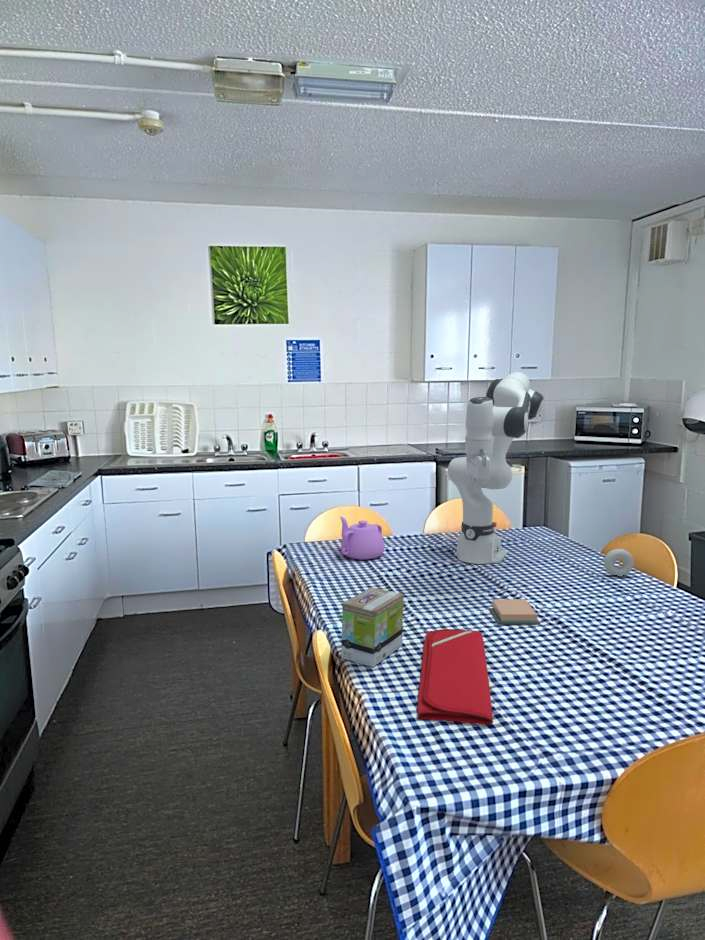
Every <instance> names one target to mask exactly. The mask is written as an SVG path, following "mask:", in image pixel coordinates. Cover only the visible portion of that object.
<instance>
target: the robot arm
mask: <svg viewBox="0 0 705 940" xmlns="http://www.w3.org/2000/svg"><path fill="white" fill-rule="evenodd" d="M530 387H531V381H530V378H529V377H528V376H527V375H526V374H525V373H523V372H520V371H515V372H512V373H509V374H507V375H506V376H504V377H503V378H496V379H494V380H492V381H491V382H490V383H489V385H488V386H487V388H486V391H485V396H477V397H472V398H470V399H469V400H468V402H467V406H466V414H465V428H466V434H465V439H464V440H465V441H464V443H465V444H464V454H465V455H466V456H462V457H461V456H460V457H455V458H453V459H451V461H450V462H449V464H448V466H447V476H448V478H449V480H450V481H451V482H452V483H453V485H455V487H456V489H457V490H458V492H459V495H460V499H461V503H462V521H461V525H460V529H461V531H460V532H461V533H459V534H458V535H457V536H458V537H457V547H456V551H454V552H453V555H454V556H455V557H457V560H459V561H461V562H463V563H464V562H465V563H468V564H473V565H474V564H475V565H486V564H487V565H488V564H500V563H501V561H503V560H504V558H505V557H506V556H507V555H508V551H507V550H505V549H503V548H502V539H501V538H500V537H499V536H498V535H497V534H496V533H495V528H496V527H497V522H496V521H493V517H494V516H493V515H494V514H493V512H494V511H493V509H494V508H493V507H494V506H493V502H492V501H491V499H489V498H488V496H486V495H485V494H484V492H483V489H488V490H504V489H506V488H507V487H508V486H509V485H510V484H511V482H512V479H513V471H512V468H511V466H510V465H509V464H508V462H507V460H506V457H507V453H508V450H509V448H510V446H511V445H512V443H513V440H514V438H515V439H519V438H521V437H523V436H524V435H525V434H526V433H527V430H528V428H529V420H532V419H535V418H536V417H537V416H538V415H539V414H541V412H542V410H543V408H544V401H545V400H544V399H545V398H544V395H543V394H541V393H540V392H539V391H537V390H533V389H531V388H530Z"/></svg>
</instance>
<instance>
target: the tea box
mask: <svg viewBox="0 0 705 940" xmlns="http://www.w3.org/2000/svg"><path fill="white" fill-rule="evenodd" d="M341 611H342V613H341V615H342V617H341V621H342V622H341V655H340V656H341V658H342V659H344V660H347V661H350V662H354V663H357V664H360V665H364V666H367V667H371V668H374V667H375V666H377V665H378V664H380V663H381V662H382V661H383V660H385V659H386V658H388V657H389V656H390V655H392V654H393V653H394V652H395V651H397V650H399V648H401V647H402V646H403V631H404V630H403V629H404V628H403V627H404V620H403V619H404V593H400V592H395V591H390V590H387V589H381V588H377V587H371V588H368V589H366V590H364V591H363V592H361V593H359V594H358V595H356V596H354V597H352V598H350V599H348V600H347V601H344V602H342V610H341Z"/></svg>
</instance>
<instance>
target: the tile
mask: <svg viewBox="0 0 705 940" xmlns="http://www.w3.org/2000/svg"><path fill="white" fill-rule="evenodd" d="M491 603H492V604H491V606H492V607H491V608H493V609H494V611H495V612H496V614H497V616H498V617H499V619H500V621H501V623H509V622H537V619H538V617H537V616H538V613H537V612H536V611H535V610H534V609H533V607H532V605H531V604H529V602H528V601H527V599H525V598H522V599H518V598H517V599H515V598H513V599H512V598H511V599H508V598H507V599H505V598H503V599H501V598H500V599H499V598H498V599H497V598H495V599H492V600H491Z"/></svg>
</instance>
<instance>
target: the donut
mask: <svg viewBox="0 0 705 940" xmlns="http://www.w3.org/2000/svg"><path fill="white" fill-rule="evenodd" d="M633 557H634V556H632V554H631V553H630V552H629V551H628V550H626V549H624V548H615V549H612V550H610V551H609V552H607V554H606V555H605V557H604V560H603V566H604V569H605V571H606V572H608V574H609V575H611V574H612V575H611V576H613V575H619V577H622V576H621V575H624V576H626V575H628V574H629V573H630V572H631V571H632V570H633V568H634V564H635V561H634V558H633ZM618 559H621V560H622V561H623V562H622V565H620V566H616V565H615V562H616V560H618Z"/></svg>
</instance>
